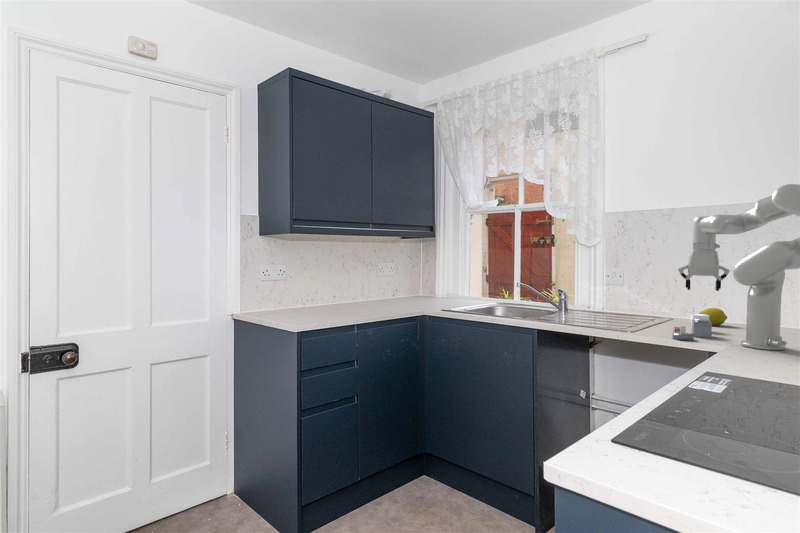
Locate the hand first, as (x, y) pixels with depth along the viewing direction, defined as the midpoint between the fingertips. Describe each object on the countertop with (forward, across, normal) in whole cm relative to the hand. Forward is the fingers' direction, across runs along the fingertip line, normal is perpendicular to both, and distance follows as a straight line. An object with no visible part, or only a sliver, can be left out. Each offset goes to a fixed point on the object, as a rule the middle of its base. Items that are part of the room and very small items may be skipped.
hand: (702, 290), depth 185 cm
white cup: (+19, -1, -13) cm, 23 cm away
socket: (+19, 0, 0) cm, 19 cm away
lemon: (+19, -8, -32) cm, 39 cm away
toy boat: (+19, +8, +4) cm, 20 cm away
